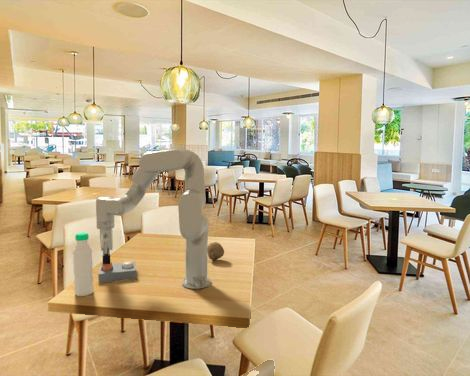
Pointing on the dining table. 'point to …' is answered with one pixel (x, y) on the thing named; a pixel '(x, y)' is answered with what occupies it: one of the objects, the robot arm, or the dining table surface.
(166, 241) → the dining table surface
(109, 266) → the red plug
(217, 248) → the natural sponge
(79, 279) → the water bottle
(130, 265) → the domed peg
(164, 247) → the dining table surface
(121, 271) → the panel
